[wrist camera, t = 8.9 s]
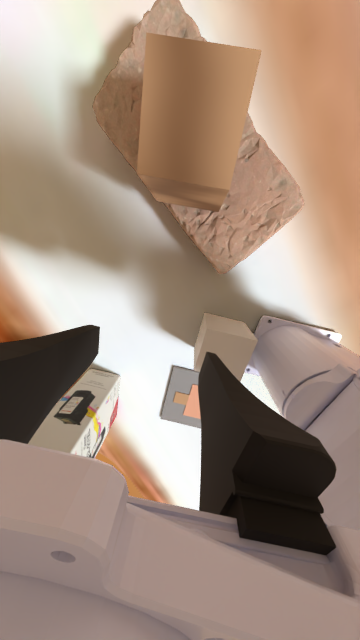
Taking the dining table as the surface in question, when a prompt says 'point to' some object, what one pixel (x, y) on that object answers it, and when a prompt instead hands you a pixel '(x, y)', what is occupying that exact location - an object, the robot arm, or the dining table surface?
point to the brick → (251, 164)
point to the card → (183, 398)
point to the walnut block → (193, 118)
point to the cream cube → (225, 343)
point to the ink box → (81, 416)
